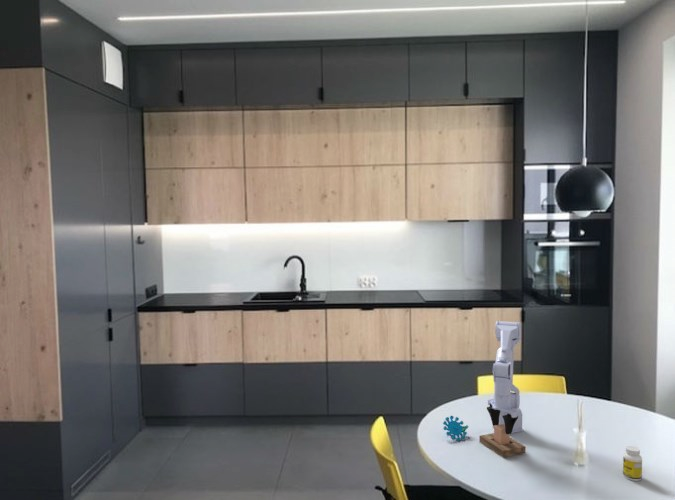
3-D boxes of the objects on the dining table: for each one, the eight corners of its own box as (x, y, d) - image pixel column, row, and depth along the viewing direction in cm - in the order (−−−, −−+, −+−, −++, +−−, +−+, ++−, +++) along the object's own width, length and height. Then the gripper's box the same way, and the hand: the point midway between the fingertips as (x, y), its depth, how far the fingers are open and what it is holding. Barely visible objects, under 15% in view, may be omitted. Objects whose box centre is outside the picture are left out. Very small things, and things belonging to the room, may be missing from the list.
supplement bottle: (619, 473, 169) (619, 445, 169) (634, 472, 170) (635, 444, 169) (630, 481, 164) (630, 452, 163) (645, 481, 164) (646, 451, 164)
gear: (448, 439, 193) (441, 414, 200) (441, 445, 197) (435, 421, 204) (473, 439, 197) (465, 415, 203) (466, 445, 201) (458, 421, 208)
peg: (502, 444, 192) (502, 423, 192) (509, 448, 189) (509, 427, 188) (494, 446, 191) (494, 425, 191) (500, 450, 187) (500, 429, 187)
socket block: (500, 438, 198) (500, 431, 198) (525, 453, 185) (525, 446, 185) (479, 442, 195) (479, 435, 195) (503, 457, 182) (503, 450, 181)
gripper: (481, 389, 194) (481, 424, 195) (506, 401, 181) (505, 438, 181) (496, 387, 197) (496, 421, 197) (522, 399, 183) (521, 435, 184)
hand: (502, 429), depth 189 cm, fingers open, 7 cm apart
